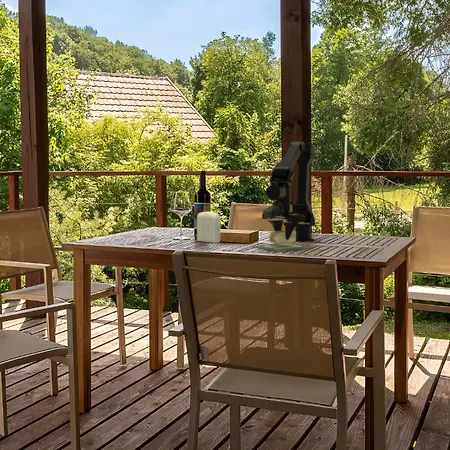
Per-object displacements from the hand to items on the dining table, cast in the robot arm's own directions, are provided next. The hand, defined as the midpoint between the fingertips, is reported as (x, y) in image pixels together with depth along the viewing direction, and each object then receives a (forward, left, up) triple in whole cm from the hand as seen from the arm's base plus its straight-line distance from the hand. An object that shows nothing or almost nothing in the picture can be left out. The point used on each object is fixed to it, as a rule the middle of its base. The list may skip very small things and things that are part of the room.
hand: (282, 239), depth 268 cm
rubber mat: (0, 0, -3) cm, 3 cm away
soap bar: (+13, -31, -4) cm, 34 cm away
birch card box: (0, 0, -1) cm, 1 cm away
